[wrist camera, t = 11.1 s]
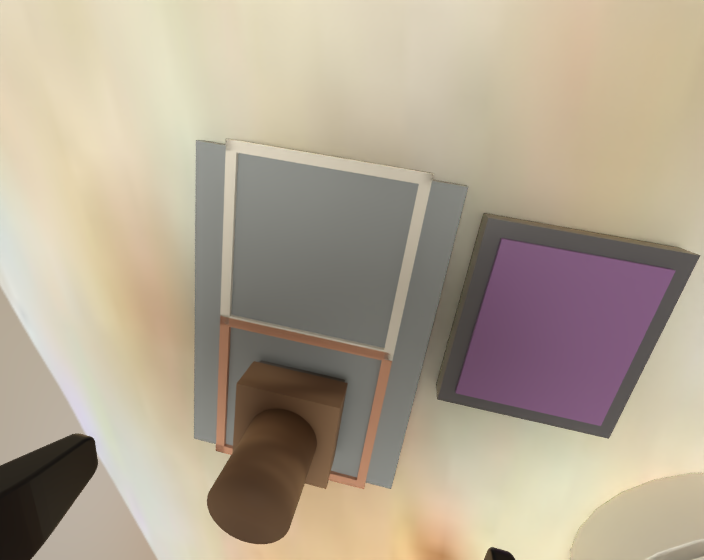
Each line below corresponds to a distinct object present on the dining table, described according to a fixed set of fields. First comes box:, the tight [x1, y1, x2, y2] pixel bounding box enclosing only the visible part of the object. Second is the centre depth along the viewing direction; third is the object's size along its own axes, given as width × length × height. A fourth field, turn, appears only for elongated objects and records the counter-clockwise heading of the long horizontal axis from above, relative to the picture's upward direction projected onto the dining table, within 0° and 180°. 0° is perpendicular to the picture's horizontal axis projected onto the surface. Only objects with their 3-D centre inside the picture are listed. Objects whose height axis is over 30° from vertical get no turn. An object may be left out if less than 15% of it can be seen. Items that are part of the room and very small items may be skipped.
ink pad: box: [436, 213, 700, 439], centre depth 17 cm, size 8×9×1 cm
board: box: [194, 139, 468, 489], centre depth 19 cm, size 12×18×1 cm
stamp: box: [207, 360, 348, 544], centre depth 18 cm, size 5×5×6 cm
